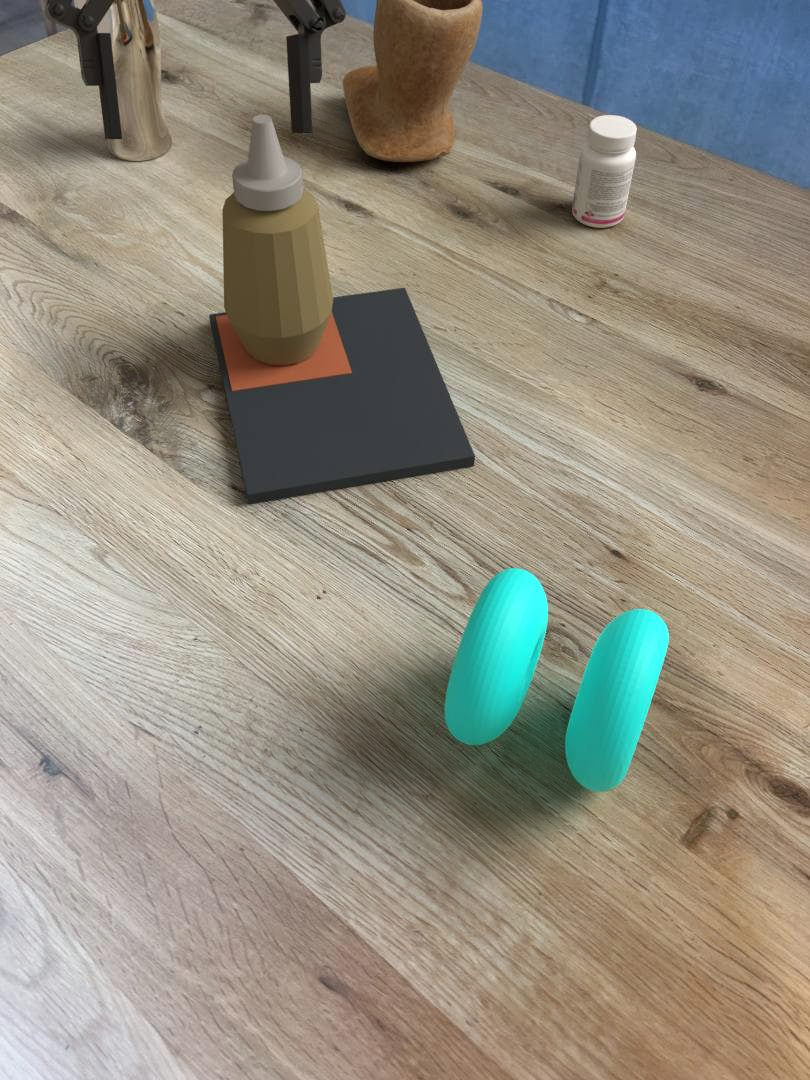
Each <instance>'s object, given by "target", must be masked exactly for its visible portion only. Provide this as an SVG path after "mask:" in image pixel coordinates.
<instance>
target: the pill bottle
mask: <svg viewBox="0 0 810 1080" xmlns="http://www.w3.org/2000/svg"><path fill="white" fill-rule="evenodd" d="M636 137H637V125H636V123H634V121H632V120H630V119H629V118H627V117H624V116H621V115H614V114H606V115H605V114H604V115H600V116H596V117H594V118H593V119H592V120H591V121H590V122H589V125H588V130H587V138H586V140H587V141H585V142H584V143H583V145H582V146H581V149H580V153H579V158H578V165H577V166H578V167H577V173H576V179H575V185H574V192H573V198H572V205H571V213H572V216H573V217H574V218H575V220H576V221H578V222H579V223H581V224H583V225H585V226H588V227H592V228H597V229H604V228H610V227H615V226H617V225H618V224H620V223H621V222H622V221H623V220H624V217H625V215H626V210H627V205H628V204H627V203H628V200H629V194H630V190H631V183H632V178H633V174H634V170H635V164H636V160H637V152H636V149H635V143H636Z"/></svg>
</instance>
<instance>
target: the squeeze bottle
mask: <svg viewBox="0 0 810 1080" xmlns="http://www.w3.org/2000/svg"><path fill="white" fill-rule="evenodd" d="M303 178H304V177H303V170H302V167H301V165H300V164H299V163H298V162H297V161H295V160H294V159H292V158H290V157H287V156H285V155H284V154H283V151H282V148H281V145H280V141H279V138H278V135H277V132H276V128H275V125H274V122H273V119H272V116H270V115H268V114H257V115H255V116H254V117H253V118H252V126H251V132H250V141H249V148H248V156H247V158H245V159H242V160H241V161H240V162H238V163H237V164H236V165H235V166H233V169H232V173H231V179H232V184H233V185H232V186H233V192H232V193H231V194H230V195H229V196H228V197H226V199H225V200H224V204H223V207H222V261H223V262H222V264H223V265H222V266H223V268H222V269H223V270H222V271H223V308H224V312H226V314H227V317H228V319H229V321H230V323H231V325H232V327H233V328H234V330H235V332H236V334H237V335H238V337H239V339H240V341H241V342H242V344H243V346H244V348H245V349H246V351H247V353H249V354H250V355H251V356H252V357H253V358H255V359H256V360H258V361H261V362H264V363H267V364H272V365H288V364H293V363H298V362H301V361H303V360H304V359H306V358H308V357H310V356H312V355H313V353H314V352H315V351H316V350H317V349H318V348H319V346H320V343H321V340H322V337H323V334H324V331H325V329H326V326H327V323H328V320H329V317H330V315H331V310H332V305H333V297H334V295H333V289H332V283H331V276H330V271H329V264H328V259H327V251H326V247H325V240H324V235H323V234H324V233H323V228H322V222H321V216H320V211H319V205H318V202H317V200H316V198H315V197H314V194H313V193H311V192H310V191H308V190H307V189H305V188H304V179H303Z"/></svg>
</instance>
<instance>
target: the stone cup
mask: <svg viewBox="0 0 810 1080" xmlns="http://www.w3.org/2000/svg"><path fill="white" fill-rule="evenodd" d="M482 17H483V1H482V0H376V4H375V11H374V21H373V32H372V36H373V37H372V38H373V39H372V40H373V50H374V56H375V57H374V58H375V62H376V65H367V66H363V67H359V68H356V69H352V70H350V71H349V72H348V73H346V74H345V75H344V77H343V79H342V88H343V95H344V100H345V105H346V108H347V113H348V117H349V120H350V124H351V128H352V130H353V133H354V136H355V139H356V141H357V143H358V145H359V146H360V148H361V150H363V151H364V153H365V154H366V155H368V156H370V157H372V158H375V159H378V160H381V161H385V162H392V163H414V162H426V161H431V160H435V159H437V158H439V157H443V156H447V155H448V154H450V153H451V152H452V151H453V148H454V145H455V136H456V135H455V124H454V119H453V116H452V114H451V111H450V110H449V104H450V101H451V98H452V95H453V92H454V90H455V88H456V85H457V83H458V81H459V79H460V77H461V76H462V74H463V72H464V70H465V68H466V67H467V64H468V62H469V60H470V58H471V56H472V54H473V52H474V49H475V47H476V44H477V42H478V41H477V40H478V37H479V34H480V28H481V24H482Z"/></svg>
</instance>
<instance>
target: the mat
mask: <svg viewBox="0 0 810 1080" xmlns="http://www.w3.org/2000/svg"><path fill="white" fill-rule="evenodd" d="M208 318H209V324H210V330H211V334H212V339H213V343H214V347H215V348H214V349H215V353H216V357H217V363H218V367H219V372H220V377H221V382H222V386H223V392H224V395H225V400H226V405H227V410H228V414H229V420H230V424H231V429H232V434H233V438H234V443H235V448H236V453H237V458H238V463H239V467H240V472H241V476H242V481H243V485H244V490H245V495H246V500H247V504H248V505H252V504H258V503H263V502H269V501H275V500H276V501H277V500H281V499H287V498H293V497H298V496H305V495H311V494H317V493H322V492H323V493H324V492H328V491H333V490H340V489H346V488H352V487H357V486H358V487H359V486H364V485H369V484H374V483H375V484H376V483H382V482H387V481H391V480H392V481H393V480H398V479H399V480H400V479H404V478H410V477H417V476H422V475H423V476H424V475H428V474H435V473H439V472H446V471H451V470H458V469H463V468H470V467H474V466H475V462H476V461H475V460H476V454H475V452H474V449H473V447H472V445H471V442H470V440H469V438H468V435H467V433H466V431H465V429H464V426H463V423H462V421H461V419H460V416H459V414H458V411H457V409H456V407H455V405H454V401H453V399H452V397H451V395H450V392H449V389H448V388H447V385H446V383H445V381H444V378H443V376H442V373H441V371H440V368H439V366H438V363H437V361H436V358H435V357H434V354H433V352H432V349H431V346H430V344H429V342H428V339H427V337H426V334H425V332H424V330H423V327H422V325H421V322H420V321H419V318H418V316H417V312H416V310H415V308H414V305H413V304H412V301H411V298H410V296H409V294H408V291H407V289H406V287H398V288H391V289H383V290H377V291H369V292H363V293H362V292H361V293H356V294H355V293H354V294H348V295H341V296H333V305H332V310H331V315H330V317H329V320H328V323H327V326H326V329H325V331H324V334H323V337H322V340H321V343H320V346H319V348H318V349H317V350H316V351H315V352H314V353H313V355H312V356H310V357H308V358H306V359H304V360H303V361H301V362H298V363H293V364H288V365H272V364H267V363H264V362H261V361H258V360H256V359H255V358H253V357H252V356H251V355H250V354H249V353H247V351H246V349H245V348H244V346H243V344H242V342H241V341H240V339H239V337H238V335H237V334H236V332H235V330H234V328H233V327H232V325H231V323H230V321H229V319H228V317H227V314H226V311H224V312H217V313H210V314H208Z"/></svg>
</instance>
